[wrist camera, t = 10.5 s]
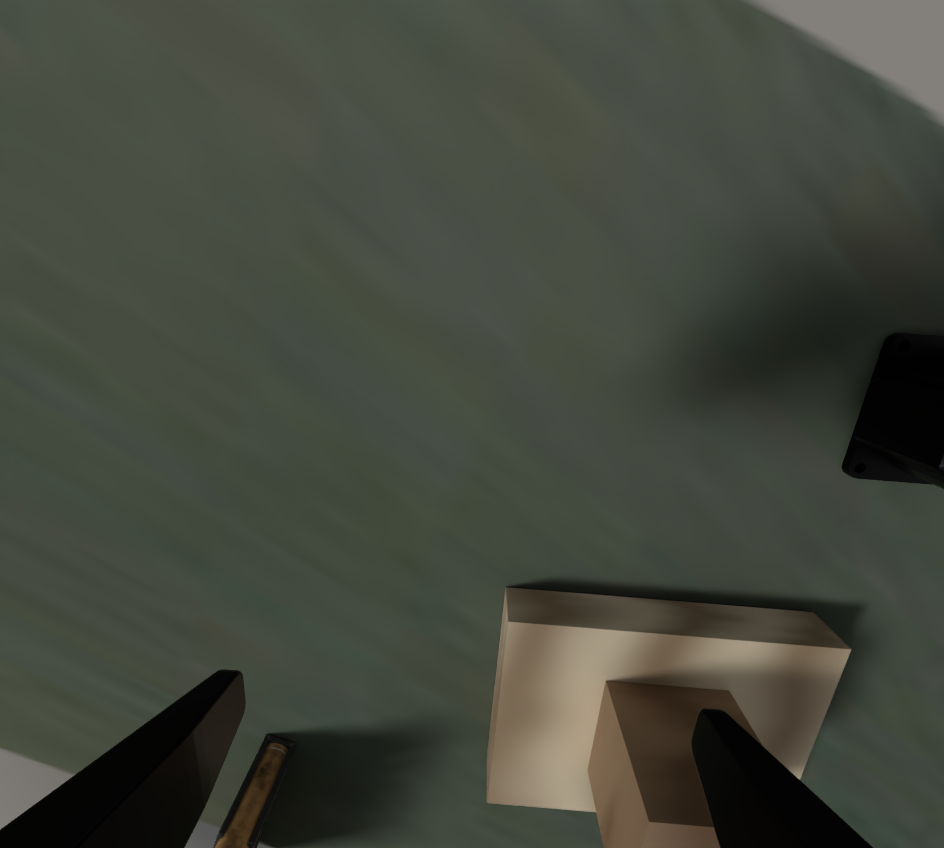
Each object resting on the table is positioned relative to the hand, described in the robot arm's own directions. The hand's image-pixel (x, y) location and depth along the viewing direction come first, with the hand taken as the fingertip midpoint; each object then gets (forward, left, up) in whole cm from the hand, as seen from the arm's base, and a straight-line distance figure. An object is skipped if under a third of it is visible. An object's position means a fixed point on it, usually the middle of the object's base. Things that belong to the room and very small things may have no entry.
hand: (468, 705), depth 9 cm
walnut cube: (-10, +13, -10) cm, 19 cm away
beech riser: (-10, +13, -13) cm, 21 cm away
